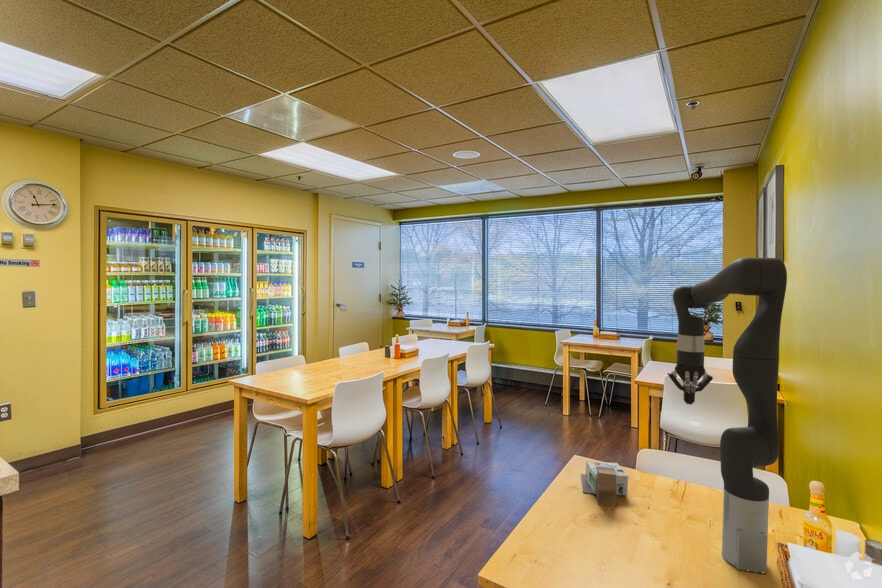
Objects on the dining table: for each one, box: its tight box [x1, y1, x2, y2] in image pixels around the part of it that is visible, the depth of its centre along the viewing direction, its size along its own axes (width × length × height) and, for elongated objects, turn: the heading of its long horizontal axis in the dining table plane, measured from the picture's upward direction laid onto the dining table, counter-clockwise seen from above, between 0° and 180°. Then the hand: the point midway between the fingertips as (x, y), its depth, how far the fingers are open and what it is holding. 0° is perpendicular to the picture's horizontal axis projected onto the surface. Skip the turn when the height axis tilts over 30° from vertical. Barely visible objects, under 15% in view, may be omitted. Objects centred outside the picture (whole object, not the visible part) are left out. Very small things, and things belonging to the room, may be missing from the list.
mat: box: [580, 473, 620, 498], centre depth 149 cm, size 14×11×1 cm
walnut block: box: [596, 466, 617, 507], centre depth 138 cm, size 5×5×10 cm
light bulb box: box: [585, 461, 629, 496], centre depth 146 cm, size 11×7×11 cm
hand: (689, 403), depth 139 cm, fingers closed
